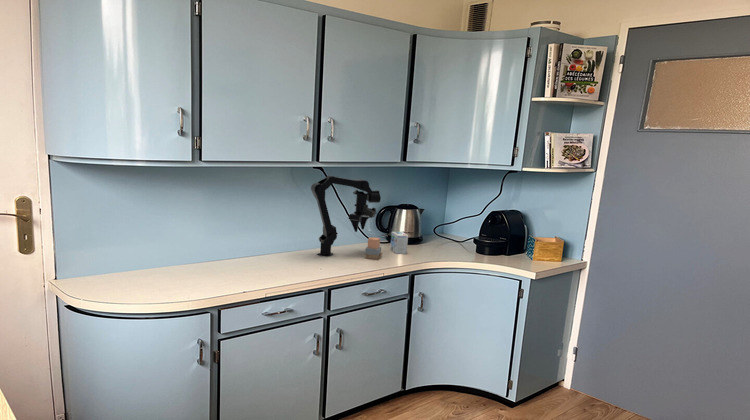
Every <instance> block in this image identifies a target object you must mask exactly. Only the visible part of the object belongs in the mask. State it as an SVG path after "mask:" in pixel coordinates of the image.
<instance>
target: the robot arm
mask: <svg viewBox="0 0 750 420" xmlns="http://www.w3.org/2000/svg"><path fill="white" fill-rule="evenodd" d="M333 184H335V185H340V186H345V187H350V188H351V187H352V188H355V190H354V191H353V192H352V194H353V195H356V197H355V198H356V199H355V204H354V207H355V211H354V212H353V213H350V214H348V219H349V221H350V223H351V226H352V227H353V231H354V232H355V233H357V232H358V230H359V224H360V228H361V230H364V229H365V227H366V224H367V222H368V220H369V219H372V218H374V217H375V215H376V214H377V208H376V207H372V208H370V207H369V205H368V203H372V204H373V203H375V204H378V203H380V202H381V199H382V197H381V194H380V190H373V189H372V188H371V187H370V183H369V181H368V180H365V179H362V178H359V179H358V178H356V179H350V178H344V177H339V176H333V175H330V174H329V175H327V176H326V177H324V178H323V179H320V180H319V181H318V182H315V183H312V185H311V186H310V191H311V192H312V195H313V197H314V199H315V200H316V203H317V206H318V209H319V214H320V217H321V222H322V235H320V236H319V238H318V241H319V242H320V252H318V253H317V255H318V256H322V257H323V256H325V257H330V256H332V255H334V253H333V252H332V246H333V245H334V242H335V241H336V240H337V238H338V232H337V227H336V226H335V225H334V224H332V222H331V218H330V214H329V209H328V207H327V202H326V191H327V190H329V188H330V187H331V186H332V185H333ZM367 202H368V203H367Z"/></svg>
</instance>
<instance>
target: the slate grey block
mask: <svg viewBox="0 0 750 420" xmlns="http://www.w3.org/2000/svg"><path fill="white" fill-rule="evenodd" d="M380 253H382V247H381V246H380V247H379V248H378V249H372V248H368V246H367V247H365V252H364V255H365V254H372V255H379V254H380Z"/></svg>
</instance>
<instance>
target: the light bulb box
mask: <svg viewBox="0 0 750 420" xmlns="http://www.w3.org/2000/svg"><path fill="white" fill-rule="evenodd" d="M390 235H391V236H390V247H389V249H390V250H391V251H392V252H393V253H394V254H396V255H401V254H402V255H406V254H407V253H408V252H407V251H408V243H409V241H408V240H409V234H407V233H405V232H404V231H391V234H390Z"/></svg>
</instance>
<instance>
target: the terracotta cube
mask: <svg viewBox="0 0 750 420" xmlns="http://www.w3.org/2000/svg"><path fill="white" fill-rule="evenodd" d="M367 247H368V248H372V249H378V248H379V247H381V238H379V237H374V236H373V237H372V236H371V237H369V238H367Z"/></svg>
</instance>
